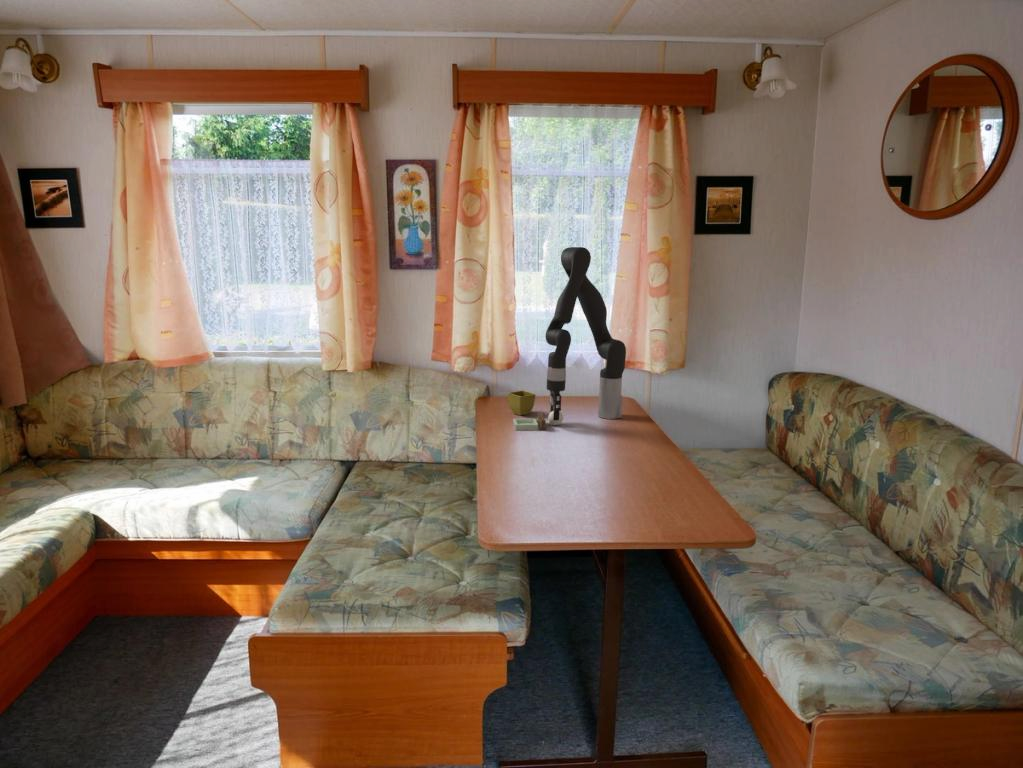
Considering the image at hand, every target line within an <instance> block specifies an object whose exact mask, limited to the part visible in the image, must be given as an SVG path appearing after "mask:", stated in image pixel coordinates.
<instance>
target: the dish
mask: <svg viewBox="0 0 1023 768" xmlns="http://www.w3.org/2000/svg"><path fill="white" fill-rule="evenodd" d="M536 420H537V419H536V418H513V420H512V421H513V422H512V424H513V428H514V431H538V430H539V424H538V423H537V421H536Z"/></svg>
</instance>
